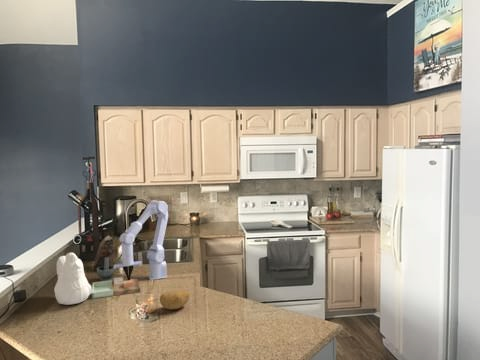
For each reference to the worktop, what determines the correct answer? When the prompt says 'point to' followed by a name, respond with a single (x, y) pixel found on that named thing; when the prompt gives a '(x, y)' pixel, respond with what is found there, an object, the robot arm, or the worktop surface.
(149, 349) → the worktop surface
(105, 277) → the mortar and pestle
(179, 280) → the worktop surface
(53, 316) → the worktop surface
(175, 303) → the potato
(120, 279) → the cream tile
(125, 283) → the terracotta tile
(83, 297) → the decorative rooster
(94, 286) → the tray
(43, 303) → the worktop surface
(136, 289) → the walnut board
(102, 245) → the owl
